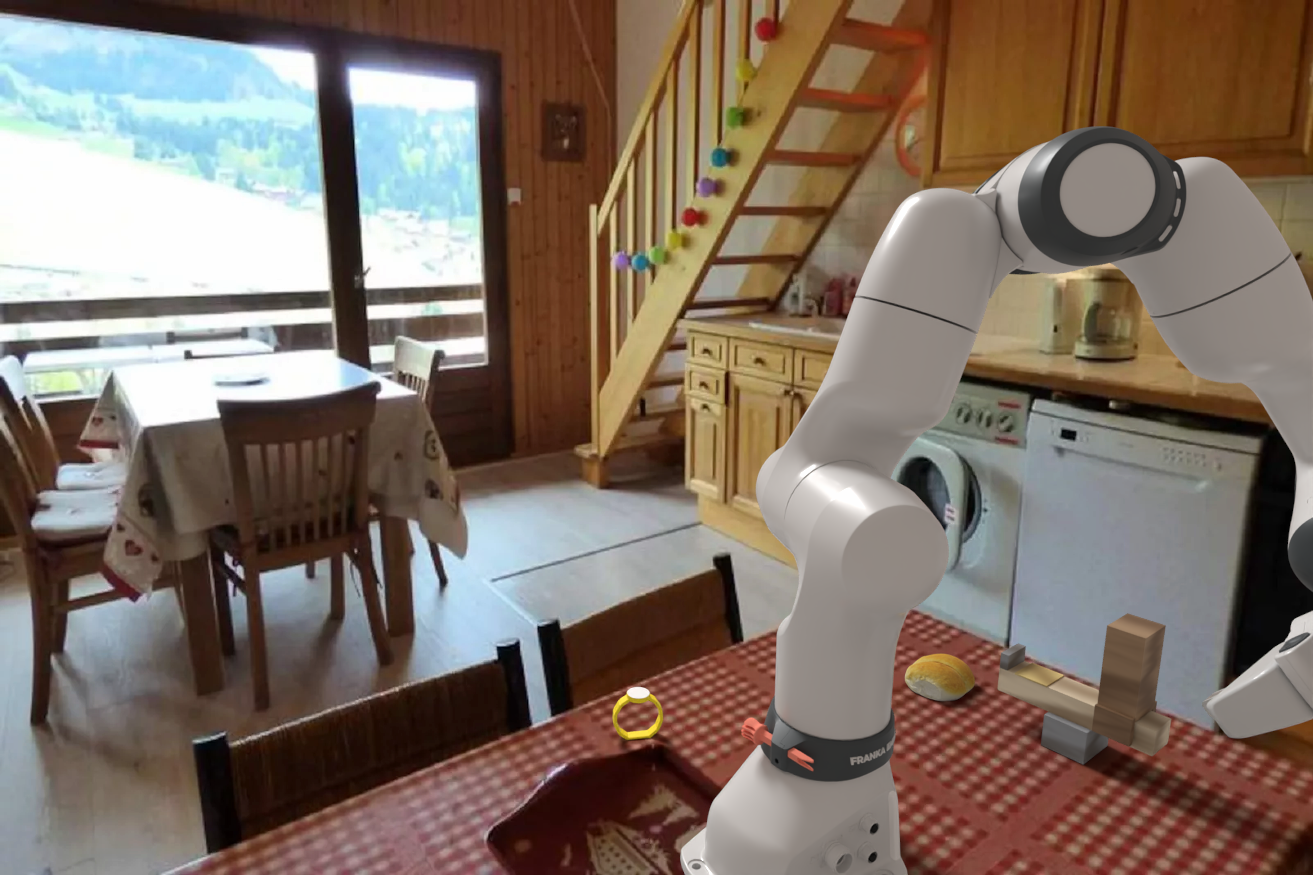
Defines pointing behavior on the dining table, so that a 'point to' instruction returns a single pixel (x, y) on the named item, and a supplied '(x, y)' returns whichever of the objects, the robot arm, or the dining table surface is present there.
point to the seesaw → (1070, 709)
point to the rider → (1128, 676)
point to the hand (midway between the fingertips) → (1211, 706)
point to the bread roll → (940, 677)
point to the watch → (637, 697)
